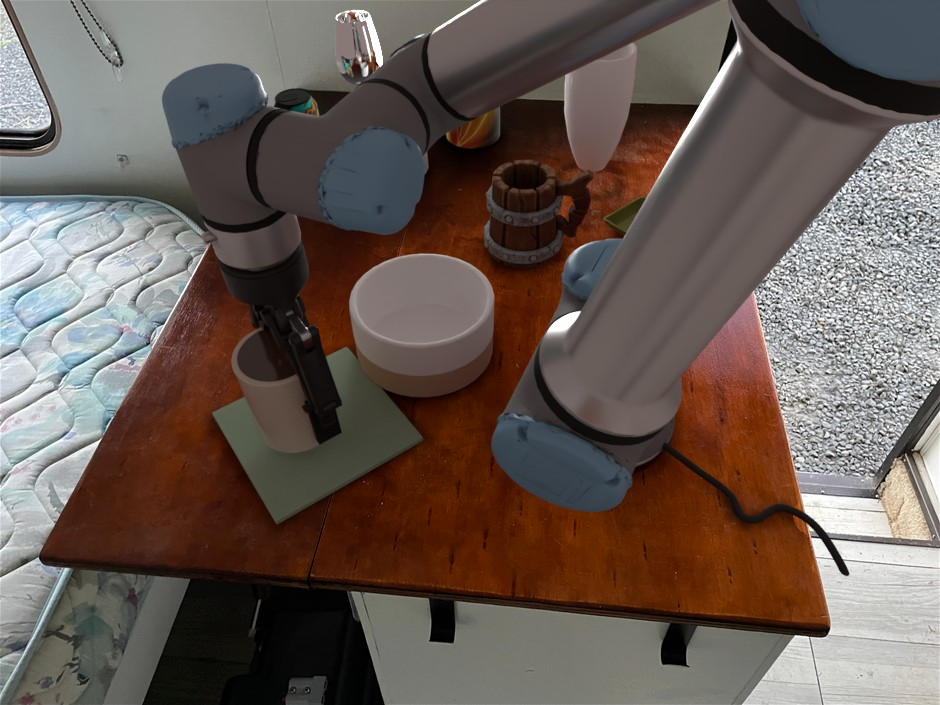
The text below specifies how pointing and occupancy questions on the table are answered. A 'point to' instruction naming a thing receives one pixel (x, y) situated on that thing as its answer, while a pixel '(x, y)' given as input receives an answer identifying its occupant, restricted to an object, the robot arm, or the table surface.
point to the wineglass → (356, 46)
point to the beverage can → (296, 101)
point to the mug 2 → (532, 212)
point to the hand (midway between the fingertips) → (309, 408)
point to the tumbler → (273, 393)
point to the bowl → (423, 324)
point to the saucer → (624, 216)
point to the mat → (331, 463)
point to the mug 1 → (477, 131)
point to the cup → (599, 106)
